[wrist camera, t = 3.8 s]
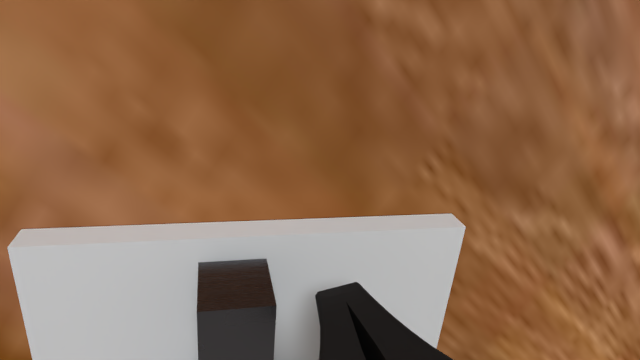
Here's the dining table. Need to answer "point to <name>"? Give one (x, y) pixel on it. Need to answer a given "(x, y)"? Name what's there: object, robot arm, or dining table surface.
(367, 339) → the robot arm
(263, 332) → the crank handle
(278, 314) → the stand plate
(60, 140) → the dining table surface
